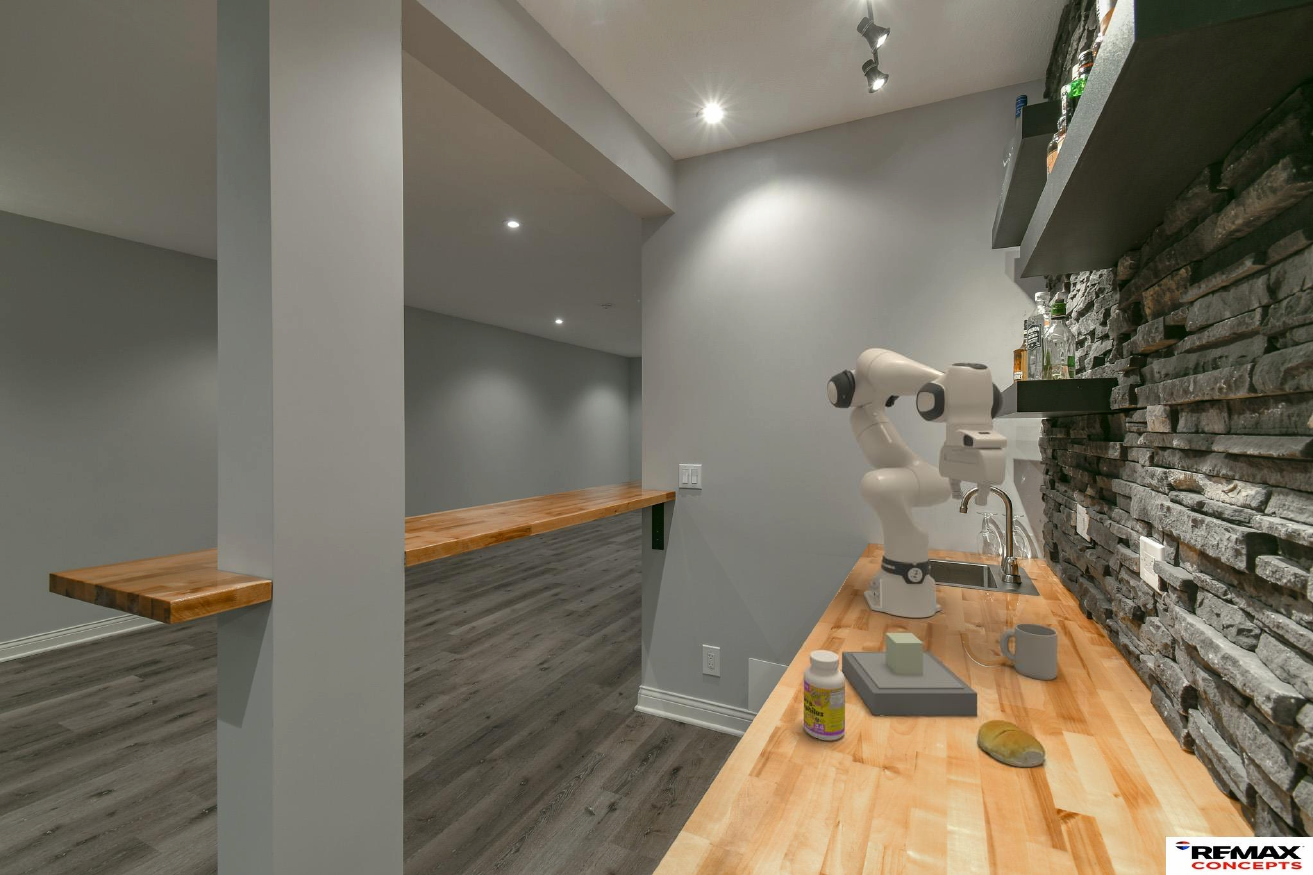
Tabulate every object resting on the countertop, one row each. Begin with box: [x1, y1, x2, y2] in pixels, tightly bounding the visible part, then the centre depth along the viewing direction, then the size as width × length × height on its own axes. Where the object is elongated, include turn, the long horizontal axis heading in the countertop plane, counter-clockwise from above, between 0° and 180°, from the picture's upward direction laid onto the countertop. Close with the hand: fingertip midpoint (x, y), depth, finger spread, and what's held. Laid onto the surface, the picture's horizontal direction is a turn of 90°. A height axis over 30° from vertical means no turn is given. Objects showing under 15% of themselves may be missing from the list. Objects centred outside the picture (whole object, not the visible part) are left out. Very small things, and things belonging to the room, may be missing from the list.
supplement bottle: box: [803, 649, 846, 742], centre depth 94 cm, size 7×7×13 cm
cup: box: [999, 622, 1058, 681], centre depth 116 cm, size 7×10×9 cm
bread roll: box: [977, 719, 1046, 768], centre depth 89 cm, size 8×9×4 cm
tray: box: [841, 651, 978, 717], centre depth 108 cm, size 18×18×4 cm
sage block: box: [885, 632, 924, 675], centre depth 108 cm, size 5×5×6 cm
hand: (968, 502), depth 122 cm, fingers open, 8 cm apart
